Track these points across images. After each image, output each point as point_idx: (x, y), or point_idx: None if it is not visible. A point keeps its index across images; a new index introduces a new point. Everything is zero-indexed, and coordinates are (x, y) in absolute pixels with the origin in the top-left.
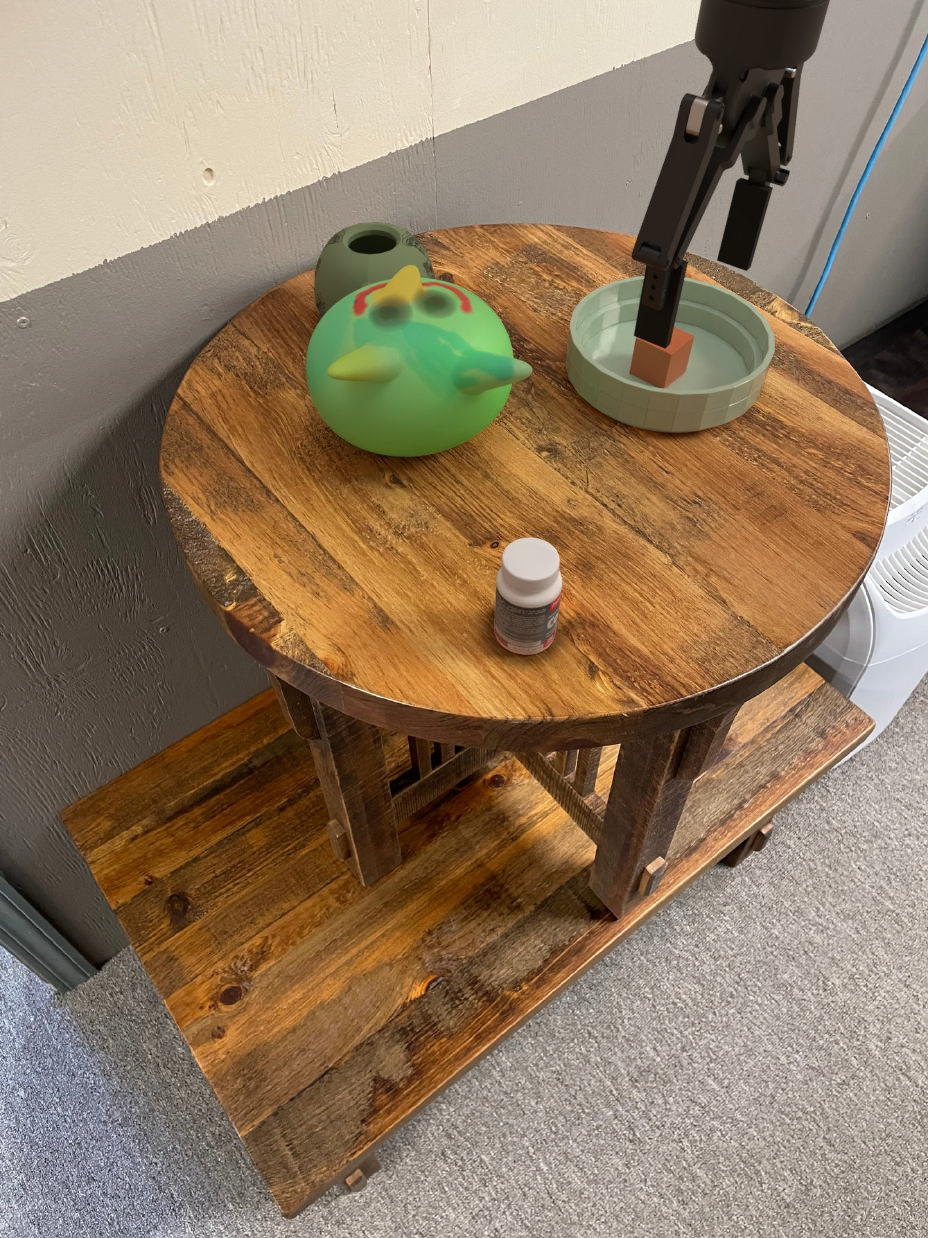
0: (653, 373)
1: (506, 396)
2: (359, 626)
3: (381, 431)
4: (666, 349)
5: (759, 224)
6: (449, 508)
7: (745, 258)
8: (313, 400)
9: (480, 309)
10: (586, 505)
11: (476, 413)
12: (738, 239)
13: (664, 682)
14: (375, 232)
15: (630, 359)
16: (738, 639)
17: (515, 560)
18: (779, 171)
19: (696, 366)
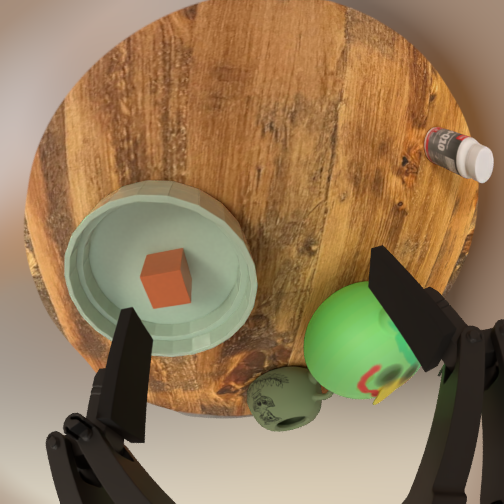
0: (185, 265)
1: (354, 297)
2: (461, 210)
3: None
4: (178, 277)
5: (119, 366)
6: (390, 244)
7: (132, 324)
8: None
9: (362, 366)
10: (338, 187)
11: None
12: (138, 355)
13: (414, 58)
14: (279, 426)
15: None
16: (361, 31)
17: (488, 171)
18: (81, 437)
19: (133, 254)
